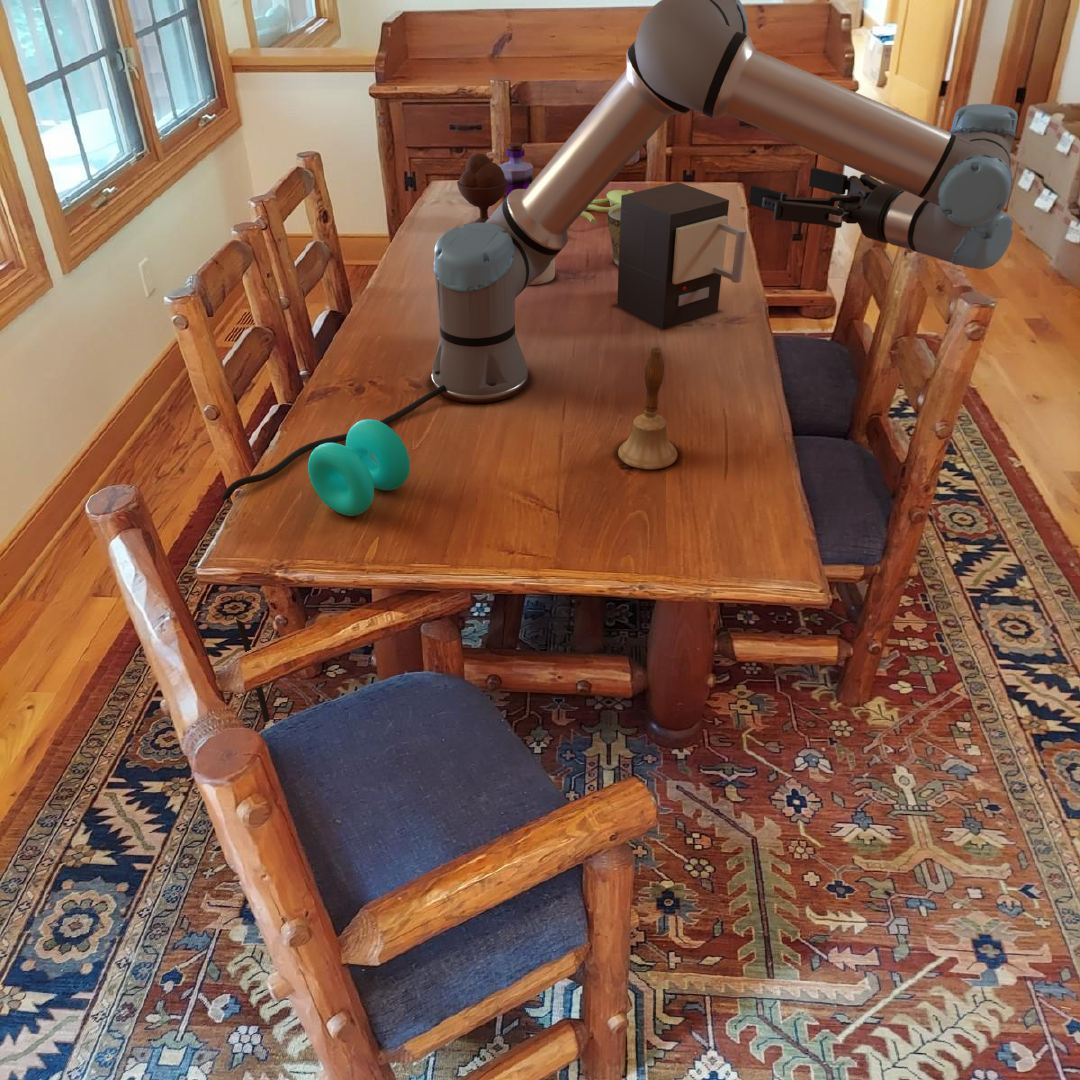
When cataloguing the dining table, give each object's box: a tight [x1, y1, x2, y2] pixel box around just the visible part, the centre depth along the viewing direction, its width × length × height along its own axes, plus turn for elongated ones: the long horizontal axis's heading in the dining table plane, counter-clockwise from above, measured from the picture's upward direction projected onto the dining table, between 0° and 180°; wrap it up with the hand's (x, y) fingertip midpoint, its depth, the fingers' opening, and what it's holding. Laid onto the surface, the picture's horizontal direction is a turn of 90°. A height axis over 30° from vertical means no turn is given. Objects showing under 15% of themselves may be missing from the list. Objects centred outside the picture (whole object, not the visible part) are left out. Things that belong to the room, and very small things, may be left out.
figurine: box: [579, 189, 635, 225], centre depth 214 cm, size 18×27×6 cm
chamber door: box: [672, 215, 747, 284], centre depth 161 cm, size 7×11×9 cm, turn 125°
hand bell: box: [617, 346, 679, 470], centre depth 130 cm, size 8×8×16 cm
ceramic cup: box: [607, 206, 621, 267], centre depth 192 cm, size 13×10×10 cm
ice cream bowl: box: [456, 152, 508, 223], centre depth 209 cm, size 11×11×15 cm
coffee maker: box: [616, 181, 730, 330], centre depth 169 cm, size 14×13×20 cm
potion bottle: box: [497, 142, 534, 198], centre depth 227 cm, size 9×9×12 cm
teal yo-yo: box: [307, 418, 411, 517], centre depth 123 cm, size 10×10×10 cm
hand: (782, 185), depth 148 cm, fingers open, 13 cm apart
